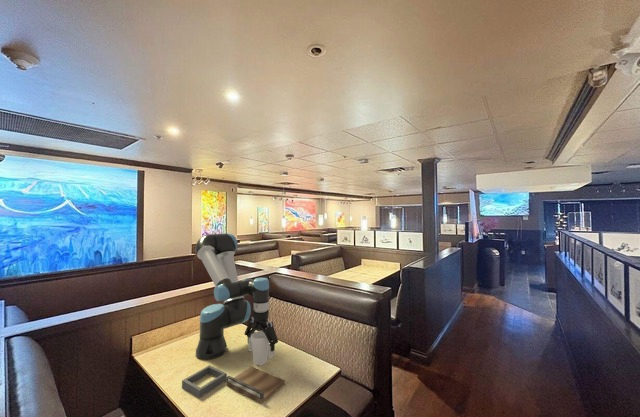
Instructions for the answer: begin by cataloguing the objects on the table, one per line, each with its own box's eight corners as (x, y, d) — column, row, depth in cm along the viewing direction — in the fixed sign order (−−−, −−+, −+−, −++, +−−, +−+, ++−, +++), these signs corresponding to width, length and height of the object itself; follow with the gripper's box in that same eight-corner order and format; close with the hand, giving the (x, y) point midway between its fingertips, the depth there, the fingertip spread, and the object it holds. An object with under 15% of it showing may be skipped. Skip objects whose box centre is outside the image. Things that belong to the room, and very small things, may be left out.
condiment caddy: (181, 387, 108) (182, 380, 108) (209, 371, 119) (209, 365, 119) (199, 398, 102) (199, 390, 102) (226, 380, 113) (226, 373, 113)
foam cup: (260, 369, 121) (260, 341, 121) (246, 363, 126) (246, 336, 126) (273, 359, 129) (274, 333, 129) (260, 354, 134) (260, 329, 134)
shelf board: (226, 386, 109) (226, 376, 109) (251, 369, 121) (251, 360, 121) (261, 404, 99) (261, 393, 99) (284, 383, 111) (284, 374, 111)
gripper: (237, 307, 131) (237, 350, 131) (275, 317, 119) (275, 364, 118) (248, 303, 138) (248, 344, 137) (285, 312, 125) (285, 357, 124)
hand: (260, 353), depth 127 cm, fingers open, 13 cm apart
